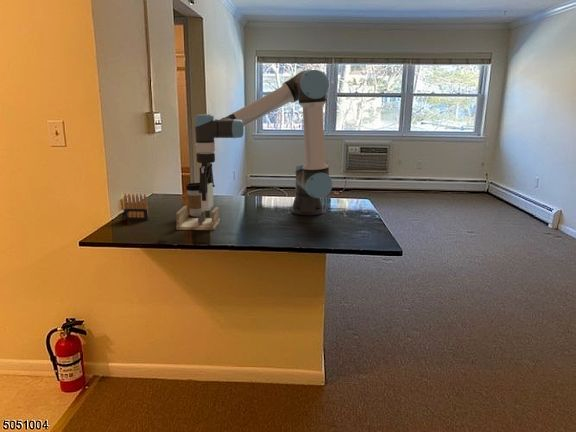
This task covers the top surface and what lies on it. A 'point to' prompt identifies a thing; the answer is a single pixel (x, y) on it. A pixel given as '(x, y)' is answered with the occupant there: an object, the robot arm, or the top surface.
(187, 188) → the coffee cup
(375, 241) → the top surface
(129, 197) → the ammunition clip
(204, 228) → the wooden shelf with pegs
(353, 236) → the top surface
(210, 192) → the beige rectangular block
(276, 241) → the top surface
